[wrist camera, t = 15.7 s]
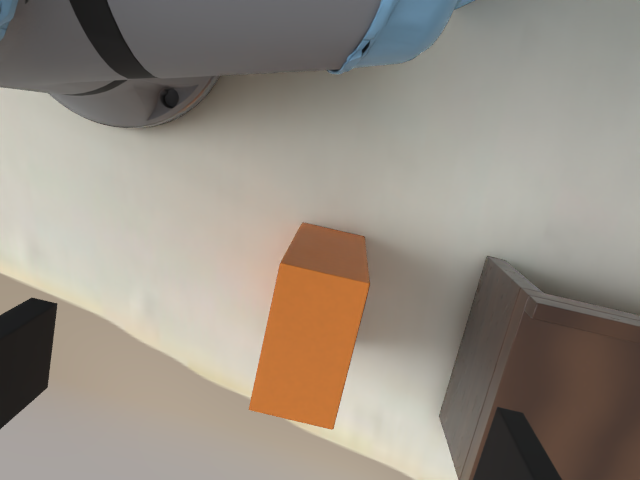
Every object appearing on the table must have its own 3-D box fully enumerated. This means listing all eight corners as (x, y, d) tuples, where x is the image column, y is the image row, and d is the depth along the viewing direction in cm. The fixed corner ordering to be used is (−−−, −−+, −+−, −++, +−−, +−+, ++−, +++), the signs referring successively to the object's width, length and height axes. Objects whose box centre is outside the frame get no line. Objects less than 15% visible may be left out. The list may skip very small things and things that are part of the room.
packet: (278, 328, 44) (248, 410, 31) (302, 222, 42) (280, 262, 29) (338, 342, 44) (333, 430, 31) (364, 236, 42) (370, 283, 29)
